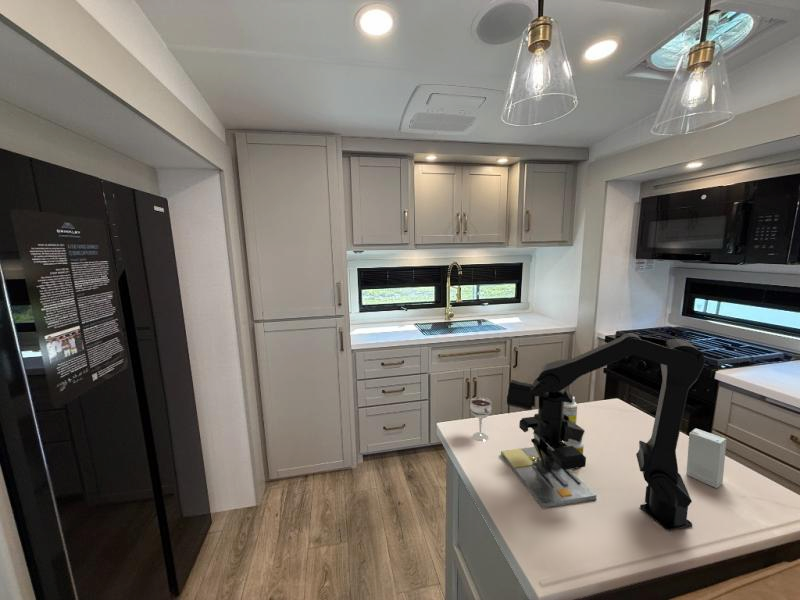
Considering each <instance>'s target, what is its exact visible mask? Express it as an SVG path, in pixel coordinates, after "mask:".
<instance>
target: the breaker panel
mask: <svg viewBox="0 0 800 600" xmlns="http://www.w3.org/2000/svg"><path fill="white" fill-rule="evenodd" d="M516 449H517V448H516ZM516 449H513V450H516ZM520 449H521V450H522V451H523V452H524V453H525V454H526V455H527V456H528V457H529V458H530V460H531V461H532V464H533V465H532V466H525V467H518V468H514V467H513V466H512V464H511V463H510V462H509V461H508V459H507V458H506V457H505V456H504V454H503V453H502V451H503V450H501V451H500V456H501V457H502V458H503V460H504V461H505V463H506V464H507V465H508V466H509V467H510V469H511V470H512V471H513V473H514V474H515V475H516V476H517V478H518V479H519V480H520V481H521V483H522V484H523V486H524V487H525V488H526V489H527V490H528V492H529V493H530V494H531V496H532V497H533V498H534V499H535V500H536V502H537V503H538V505H539V506H540V507H541V509H546V508H547V509H548V508H554V507H561V506H565V505H566V506H567V505H571V504H577V503H585V502H590V501H596V500H597V494H596V493H595V492H594V491H593V490H592V489H590V487H589V486H587V485H586V483H585V482H584V481H582V480H581V479H580V478H579V477H578V476H577V475H576V474H575V473H574V472H573V470H571V469H567V470H565V469H562V468H559V469H553V468H552V469H551V471H549V472H543V473H541V472H540V471H539V470H538V469H537V468H536V465H537V457H539V455H538V453H537V451H536V449H535V446H531V447H524V448H522V447H521V448H520ZM508 450H509V449H507V450H505V451H508Z"/></svg>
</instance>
